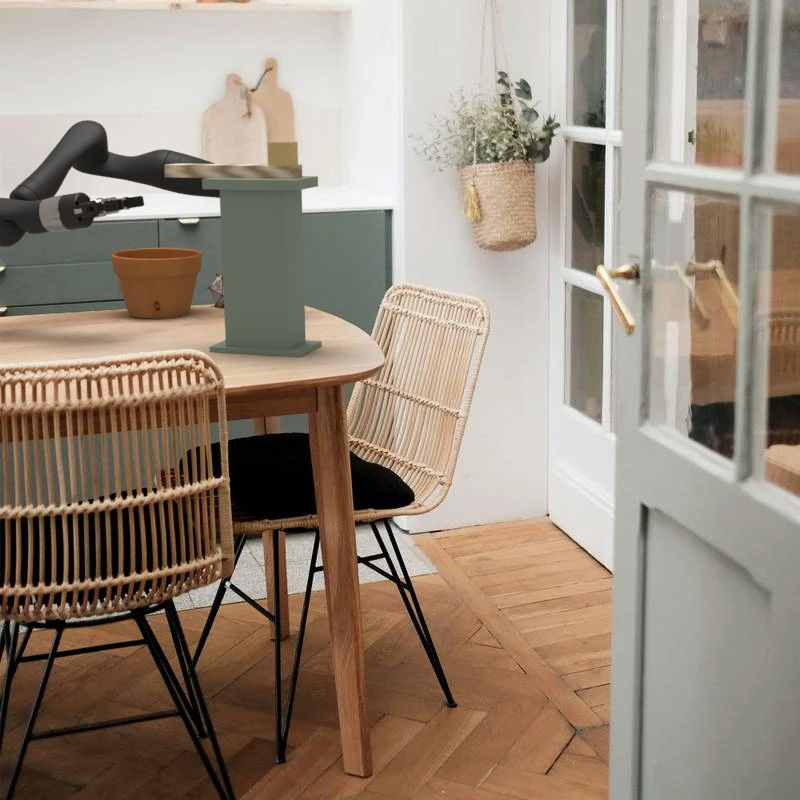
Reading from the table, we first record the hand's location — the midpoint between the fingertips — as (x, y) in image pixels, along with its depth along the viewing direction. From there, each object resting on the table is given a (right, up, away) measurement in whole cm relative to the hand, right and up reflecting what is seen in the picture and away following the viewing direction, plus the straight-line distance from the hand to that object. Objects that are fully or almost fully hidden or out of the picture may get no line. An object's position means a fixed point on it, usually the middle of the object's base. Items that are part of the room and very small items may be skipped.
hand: (133, 202), depth 272 cm
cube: (+33, +5, -14) cm, 36 cm away
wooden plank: (+22, +4, -10) cm, 25 cm away
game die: (+13, -18, +50) cm, 55 cm away
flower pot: (-2, -21, +40) cm, 45 cm away
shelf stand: (+28, -31, -3) cm, 42 cm away
